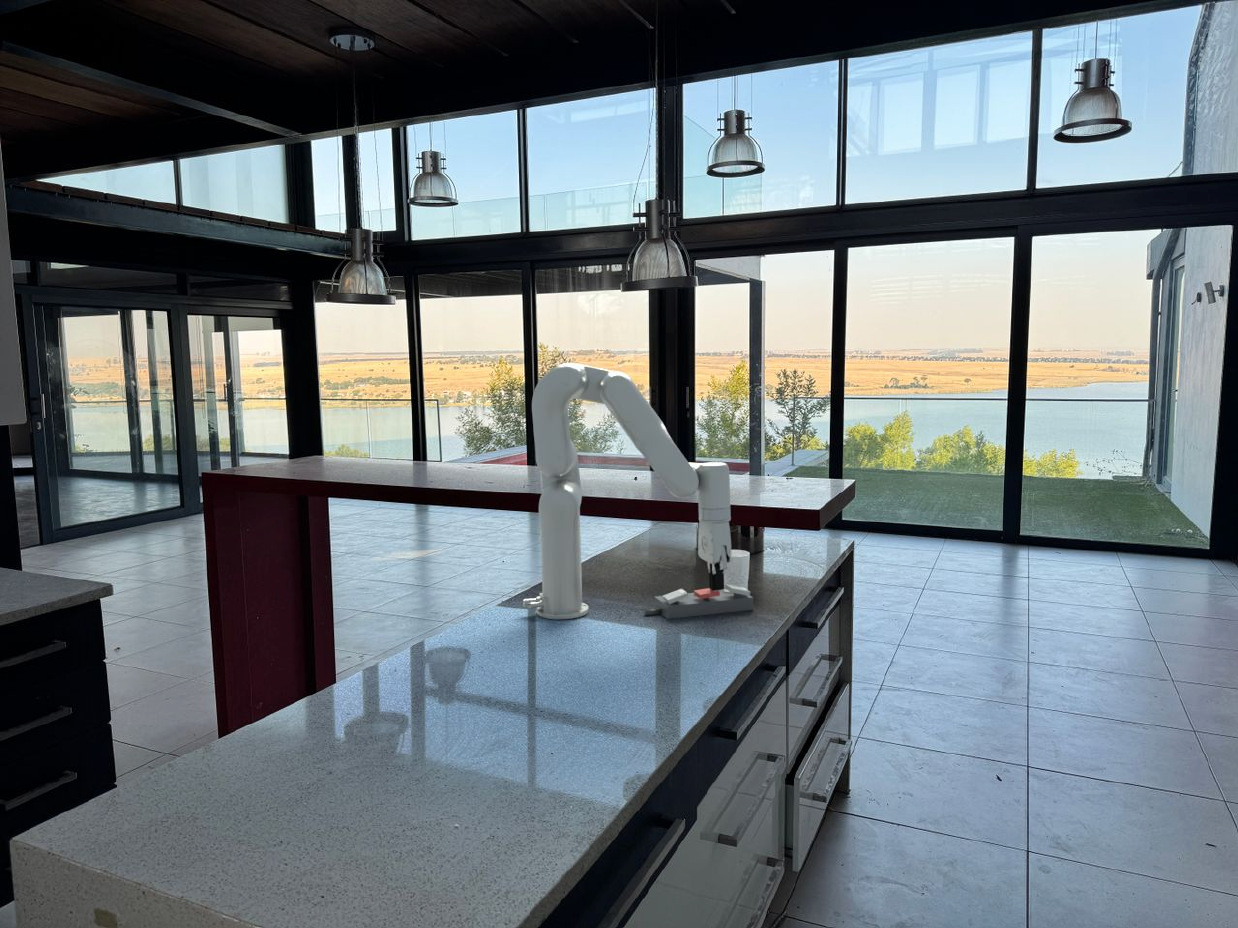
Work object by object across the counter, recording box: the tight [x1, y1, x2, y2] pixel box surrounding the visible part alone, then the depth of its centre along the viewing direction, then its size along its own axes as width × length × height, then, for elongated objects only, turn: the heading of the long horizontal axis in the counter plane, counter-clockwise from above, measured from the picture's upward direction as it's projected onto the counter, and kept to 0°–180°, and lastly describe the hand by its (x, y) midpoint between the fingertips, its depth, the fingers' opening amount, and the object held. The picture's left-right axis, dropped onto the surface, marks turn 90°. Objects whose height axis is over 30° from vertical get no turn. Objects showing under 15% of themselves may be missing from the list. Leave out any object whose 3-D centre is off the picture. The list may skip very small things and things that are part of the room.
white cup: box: [723, 549, 751, 591], centre depth 224 cm, size 8×8×10 cm
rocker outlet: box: [725, 584, 751, 596], centre depth 208 cm, size 5×4×1 cm
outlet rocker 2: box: [693, 587, 720, 599], centre depth 206 cm, size 5×4×1 cm
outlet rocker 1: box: [662, 588, 689, 604], centre depth 203 cm, size 5×4×1 cm
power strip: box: [643, 589, 754, 620], centre depth 207 cm, size 26×9×4 cm, turn 107°
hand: (716, 589), depth 206 cm, fingers closed
